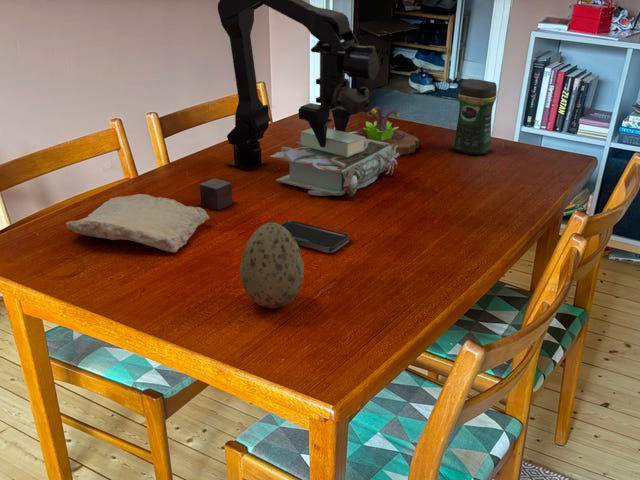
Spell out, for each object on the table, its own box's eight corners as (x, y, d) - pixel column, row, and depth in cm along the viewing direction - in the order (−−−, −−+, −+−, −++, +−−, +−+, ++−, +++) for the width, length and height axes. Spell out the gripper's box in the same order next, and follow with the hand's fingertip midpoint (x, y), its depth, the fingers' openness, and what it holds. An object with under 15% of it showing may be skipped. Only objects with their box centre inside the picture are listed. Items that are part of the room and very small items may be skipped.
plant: (327, 145, 205) (327, 104, 199) (377, 132, 216) (378, 92, 210) (379, 164, 193) (381, 120, 186) (428, 149, 204) (432, 107, 198)
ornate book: (345, 209, 168) (407, 169, 189) (345, 168, 163) (409, 131, 183) (265, 189, 178) (332, 153, 199) (263, 150, 173) (332, 117, 193)
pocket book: (300, 145, 178) (300, 131, 176) (318, 138, 182) (318, 125, 180) (347, 157, 170) (347, 143, 169) (364, 150, 175) (365, 136, 173)
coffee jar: (493, 150, 203) (503, 80, 193) (480, 157, 198) (489, 85, 188) (462, 144, 208) (470, 74, 198) (448, 150, 203) (455, 79, 193)
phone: (290, 219, 157) (351, 235, 151) (290, 224, 158) (351, 240, 152) (268, 232, 152) (331, 249, 145) (268, 237, 152) (331, 254, 146)
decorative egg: (316, 308, 128) (316, 227, 120) (262, 326, 122) (258, 242, 114) (283, 284, 135) (281, 206, 127) (231, 300, 130) (225, 220, 122)
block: (201, 205, 166) (199, 184, 164) (216, 199, 170) (214, 178, 167) (217, 210, 164) (216, 189, 161) (232, 204, 168) (231, 182, 165)
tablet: (166, 266, 142) (213, 219, 157) (159, 231, 138) (208, 186, 152) (60, 251, 149) (115, 207, 164) (50, 217, 145) (107, 175, 159)
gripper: (338, 87, 157) (337, 160, 166) (384, 72, 170) (380, 140, 179) (296, 80, 162) (297, 150, 171) (344, 65, 175) (342, 132, 184)
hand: (331, 143), depth 176 cm, fingers closed on pocket book, 7 cm apart
